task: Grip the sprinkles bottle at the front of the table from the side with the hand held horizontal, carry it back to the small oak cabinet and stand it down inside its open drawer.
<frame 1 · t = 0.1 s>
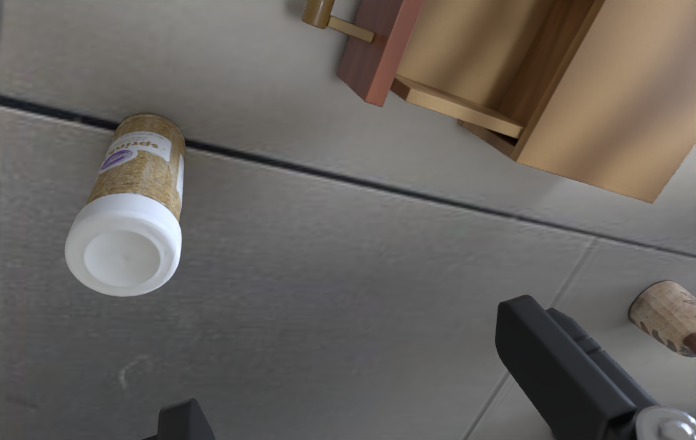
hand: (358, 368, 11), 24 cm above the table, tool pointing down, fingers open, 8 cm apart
drawer: (448, 19, 27), point 4 cm above the table, slide at 10.0 cm
sprinkles bottle: (150, 143, 30), on the table
cabinet: (562, 73, 36), on the table
figurine: (651, 300, 58), on the table
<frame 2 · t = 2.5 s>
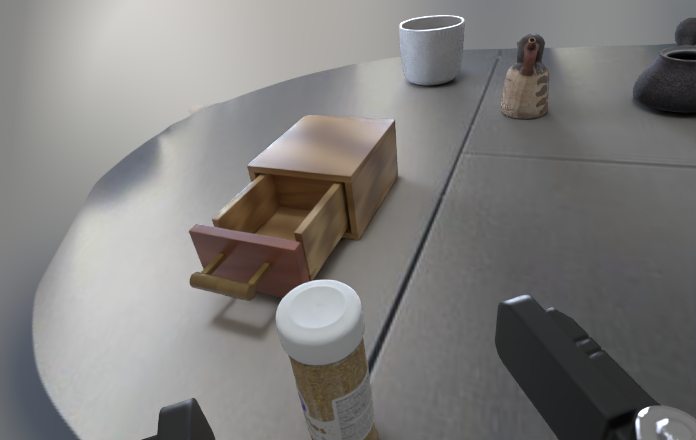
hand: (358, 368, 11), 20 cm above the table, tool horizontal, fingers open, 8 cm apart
teapot: (682, 96, 71), on the table
planter: (431, 80, 91), on the table
drawer: (272, 237, 45), point 4 cm above the table, slide at 10.0 cm
cabinet: (334, 199, 57), on the table
figurine: (523, 112, 73), on the table
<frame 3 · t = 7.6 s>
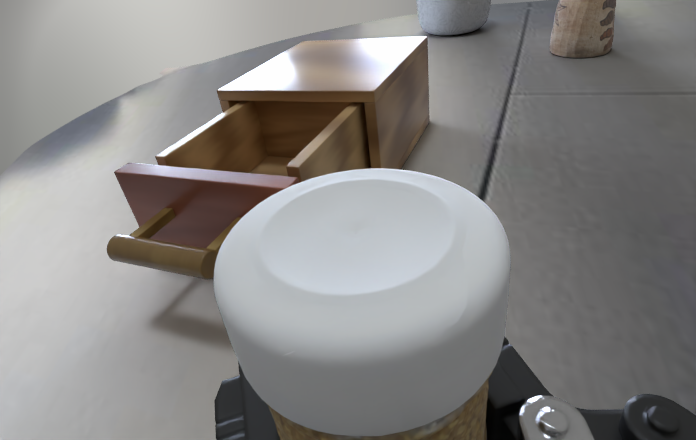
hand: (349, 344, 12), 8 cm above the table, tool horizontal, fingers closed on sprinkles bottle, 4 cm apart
planter: (453, 31, 76), on the table
drawer: (253, 187, 28), point 4 cm above the table, slide at 10.0 cm
cabinet: (343, 150, 41), on the table
figurine: (579, 52, 58), on the table
when the fingers open (10 cm above the table, at t = 15.1 s): sprinkles bottle stays where it is, resting on drawer.
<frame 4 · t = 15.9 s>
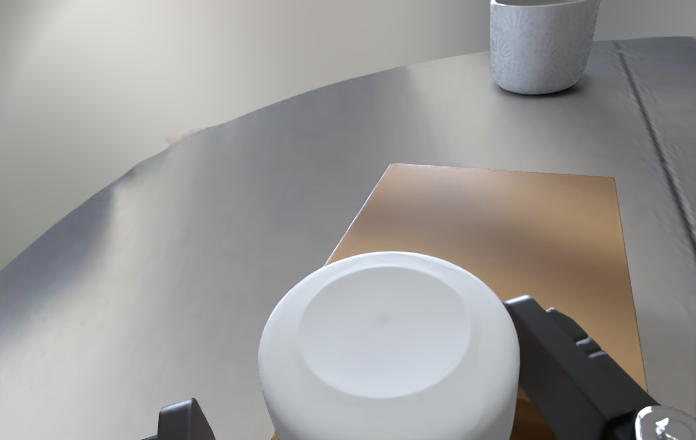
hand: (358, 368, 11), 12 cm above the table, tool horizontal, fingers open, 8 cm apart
planter: (534, 86, 60), on the table
cabinet: (469, 355, 25), on the table
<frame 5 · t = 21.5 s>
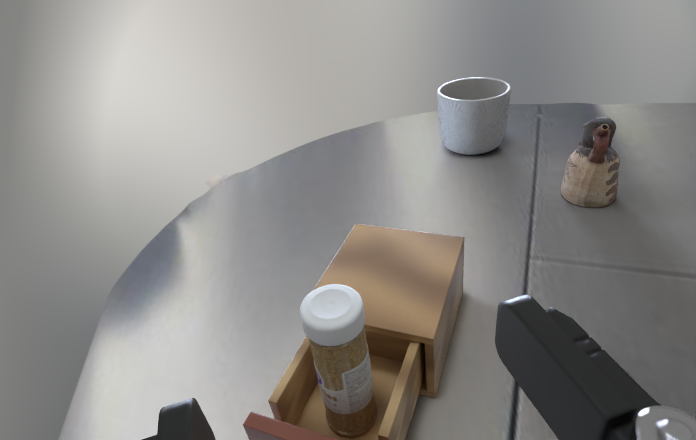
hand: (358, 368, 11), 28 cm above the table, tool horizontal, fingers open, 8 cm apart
planter: (471, 146, 84), on the table
drawer: (340, 415, 37), point 4 cm above the table, slide at 9.9 cm, touching sprinkles bottle
sprinkles bottle: (352, 415, 39), point 2 cm above the table, touching drawer
cabinet: (393, 327, 49), on the table
figurine: (587, 196, 66), on the table
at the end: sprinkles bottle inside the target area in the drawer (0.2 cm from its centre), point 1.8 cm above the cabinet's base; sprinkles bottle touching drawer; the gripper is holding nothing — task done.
